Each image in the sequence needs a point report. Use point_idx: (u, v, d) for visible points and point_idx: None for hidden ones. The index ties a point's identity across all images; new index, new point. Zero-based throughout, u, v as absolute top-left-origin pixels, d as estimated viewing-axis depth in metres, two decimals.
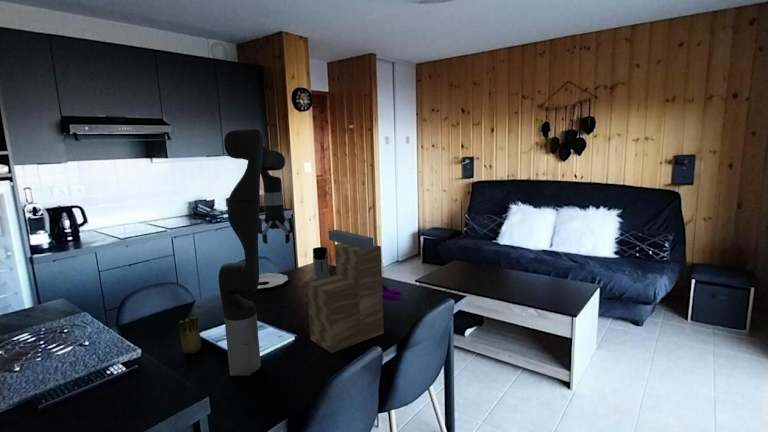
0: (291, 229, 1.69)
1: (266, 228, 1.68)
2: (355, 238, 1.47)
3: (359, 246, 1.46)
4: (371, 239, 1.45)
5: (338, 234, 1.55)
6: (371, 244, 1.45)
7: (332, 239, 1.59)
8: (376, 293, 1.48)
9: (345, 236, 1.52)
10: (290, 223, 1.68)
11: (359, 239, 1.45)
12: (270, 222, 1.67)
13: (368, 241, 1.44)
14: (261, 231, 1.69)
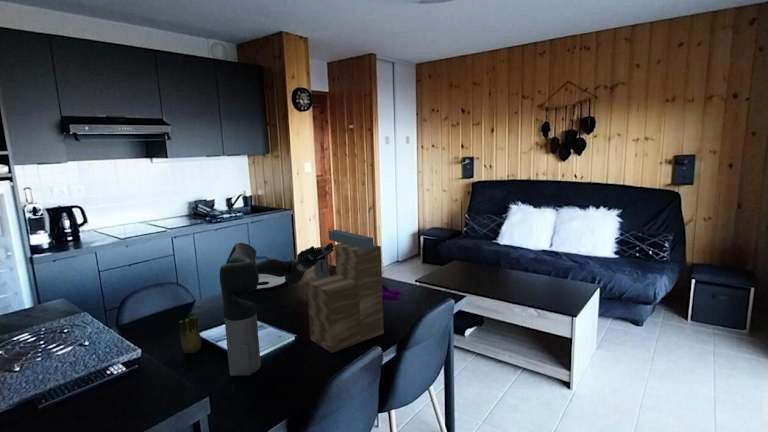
0: (303, 257, 1.69)
1: (324, 254, 1.75)
2: (355, 238, 1.47)
3: (359, 246, 1.46)
4: (371, 239, 1.45)
5: (338, 234, 1.55)
6: (371, 244, 1.45)
7: (332, 239, 1.59)
8: (376, 293, 1.48)
9: (345, 236, 1.52)
10: (301, 259, 1.71)
11: (359, 239, 1.45)
12: (317, 258, 1.76)
13: (368, 241, 1.44)
14: (329, 250, 1.76)
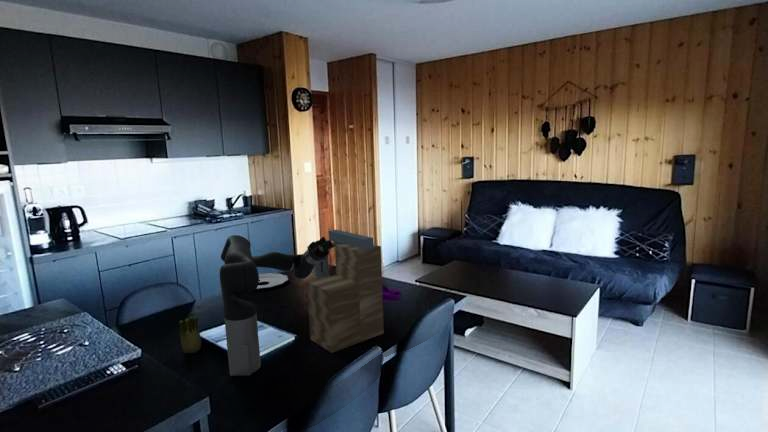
0: (313, 248, 1.63)
1: None
2: (355, 238, 1.47)
3: (359, 246, 1.46)
4: (371, 239, 1.45)
5: (338, 234, 1.55)
6: (371, 244, 1.45)
7: (332, 239, 1.59)
8: (376, 293, 1.48)
9: (345, 236, 1.52)
10: (311, 251, 1.65)
11: (359, 239, 1.45)
12: (328, 250, 1.70)
13: (368, 241, 1.44)
14: None
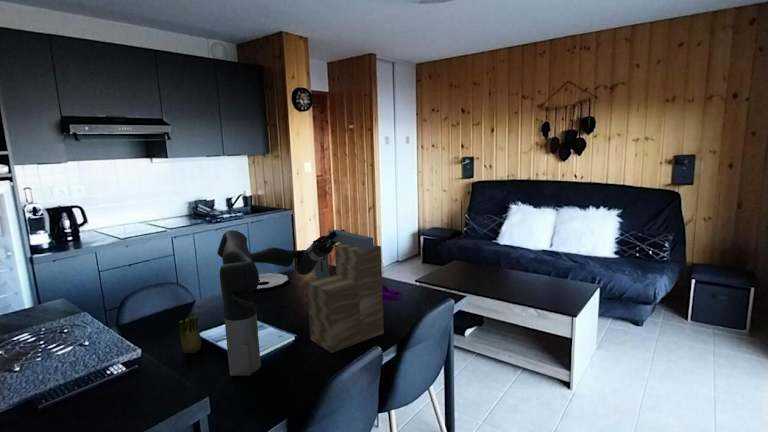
0: (324, 242, 1.59)
1: (337, 242, 1.64)
2: (355, 238, 1.47)
3: (359, 246, 1.46)
4: (371, 239, 1.45)
5: (338, 234, 1.55)
6: (371, 244, 1.45)
7: (332, 239, 1.59)
8: (376, 293, 1.48)
9: (345, 236, 1.52)
10: (319, 245, 1.60)
11: (359, 239, 1.45)
12: (332, 246, 1.66)
13: (368, 241, 1.44)
14: None
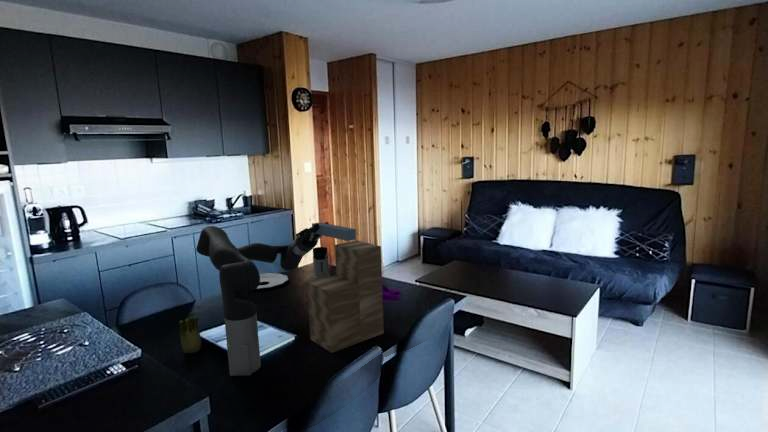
0: (306, 235, 1.54)
1: (321, 236, 1.59)
2: (337, 229, 1.42)
3: (341, 238, 1.41)
4: (353, 230, 1.40)
5: (321, 226, 1.50)
6: (353, 235, 1.40)
7: (315, 232, 1.54)
8: (376, 293, 1.48)
9: (328, 228, 1.47)
10: (301, 238, 1.55)
11: (341, 230, 1.40)
12: (316, 239, 1.60)
13: (350, 232, 1.39)
14: None
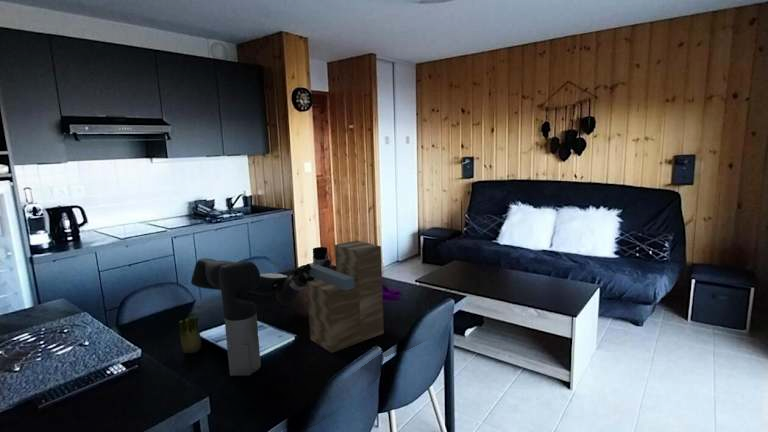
0: (298, 275, 1.50)
1: None
2: (335, 277, 1.40)
3: (339, 286, 1.38)
4: (352, 279, 1.37)
5: (318, 271, 1.48)
6: (352, 284, 1.37)
7: (312, 275, 1.51)
8: (376, 293, 1.48)
9: (325, 274, 1.44)
10: (295, 277, 1.52)
11: (339, 279, 1.38)
12: None
13: (348, 281, 1.36)
14: (326, 267, 1.57)
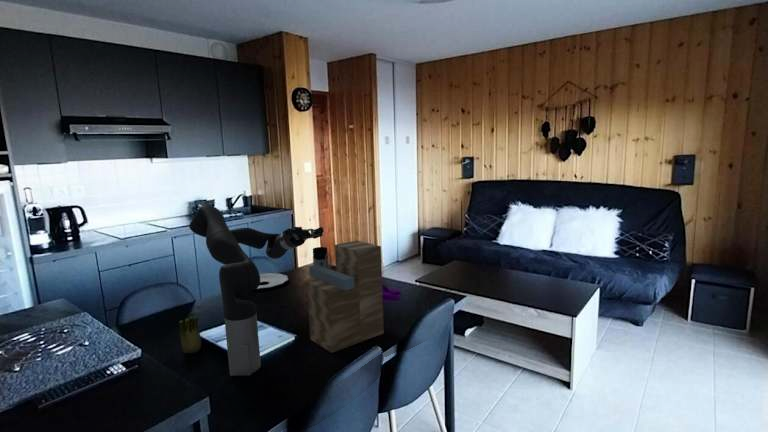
0: (288, 235, 1.55)
1: (311, 237, 1.61)
2: (335, 277, 1.40)
3: (339, 286, 1.38)
4: (352, 279, 1.37)
5: (318, 271, 1.48)
6: (352, 284, 1.37)
7: (312, 275, 1.51)
8: (376, 293, 1.48)
9: (325, 274, 1.44)
10: (286, 237, 1.57)
11: (339, 279, 1.38)
12: (304, 239, 1.62)
13: (348, 281, 1.36)
14: (318, 234, 1.62)
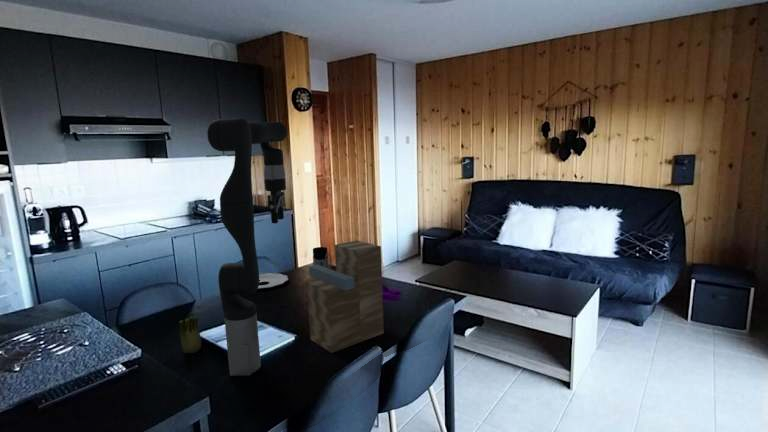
0: None
1: None
2: (335, 277, 1.40)
3: (339, 286, 1.38)
4: (352, 279, 1.37)
5: (318, 271, 1.48)
6: (352, 284, 1.37)
7: (312, 275, 1.51)
8: (376, 293, 1.48)
9: (325, 274, 1.44)
10: None
11: (339, 279, 1.38)
12: None
13: (348, 281, 1.36)
14: (279, 205, 1.63)
